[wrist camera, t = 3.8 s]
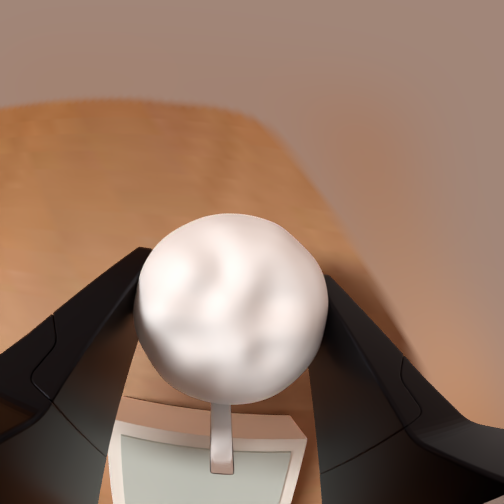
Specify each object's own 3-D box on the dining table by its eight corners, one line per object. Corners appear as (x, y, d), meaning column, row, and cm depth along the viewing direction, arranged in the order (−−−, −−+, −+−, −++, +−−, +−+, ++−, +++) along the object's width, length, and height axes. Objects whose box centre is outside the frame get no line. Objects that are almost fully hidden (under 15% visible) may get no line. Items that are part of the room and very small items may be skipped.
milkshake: (165, 353, 14) (101, 453, 4) (180, 248, 15) (137, 166, 5) (254, 365, 14) (333, 472, 5) (269, 263, 15) (377, 212, 5)
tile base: (265, 522, 13) (276, 551, 10) (127, 509, 12) (118, 538, 9) (289, 415, 14) (308, 439, 11) (122, 396, 13) (105, 418, 10)
